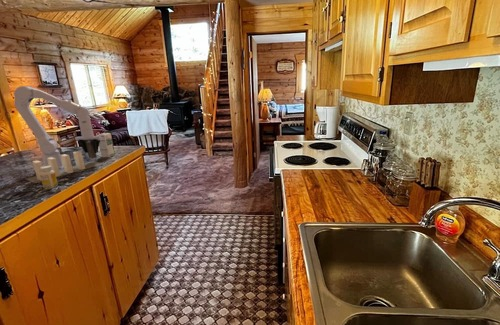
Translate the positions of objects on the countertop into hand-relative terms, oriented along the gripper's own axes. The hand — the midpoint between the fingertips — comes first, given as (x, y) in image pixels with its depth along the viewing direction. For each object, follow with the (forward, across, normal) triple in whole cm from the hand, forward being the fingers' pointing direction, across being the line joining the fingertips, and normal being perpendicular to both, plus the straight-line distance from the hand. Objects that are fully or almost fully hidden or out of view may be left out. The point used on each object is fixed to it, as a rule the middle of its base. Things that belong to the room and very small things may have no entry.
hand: (91, 152), depth 152 cm
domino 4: (+6, +1, -12) cm, 13 cm away
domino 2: (+6, -5, -22) cm, 23 cm away
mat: (+6, -4, -15) cm, 17 cm away
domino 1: (+6, -8, -28) cm, 29 cm away
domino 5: (+3, 0, 0) cm, 3 cm away
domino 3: (+6, -2, -17) cm, 18 cm away
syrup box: (+6, 0, +14) cm, 15 cm away
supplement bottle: (+6, +4, -36) cm, 37 cm away
